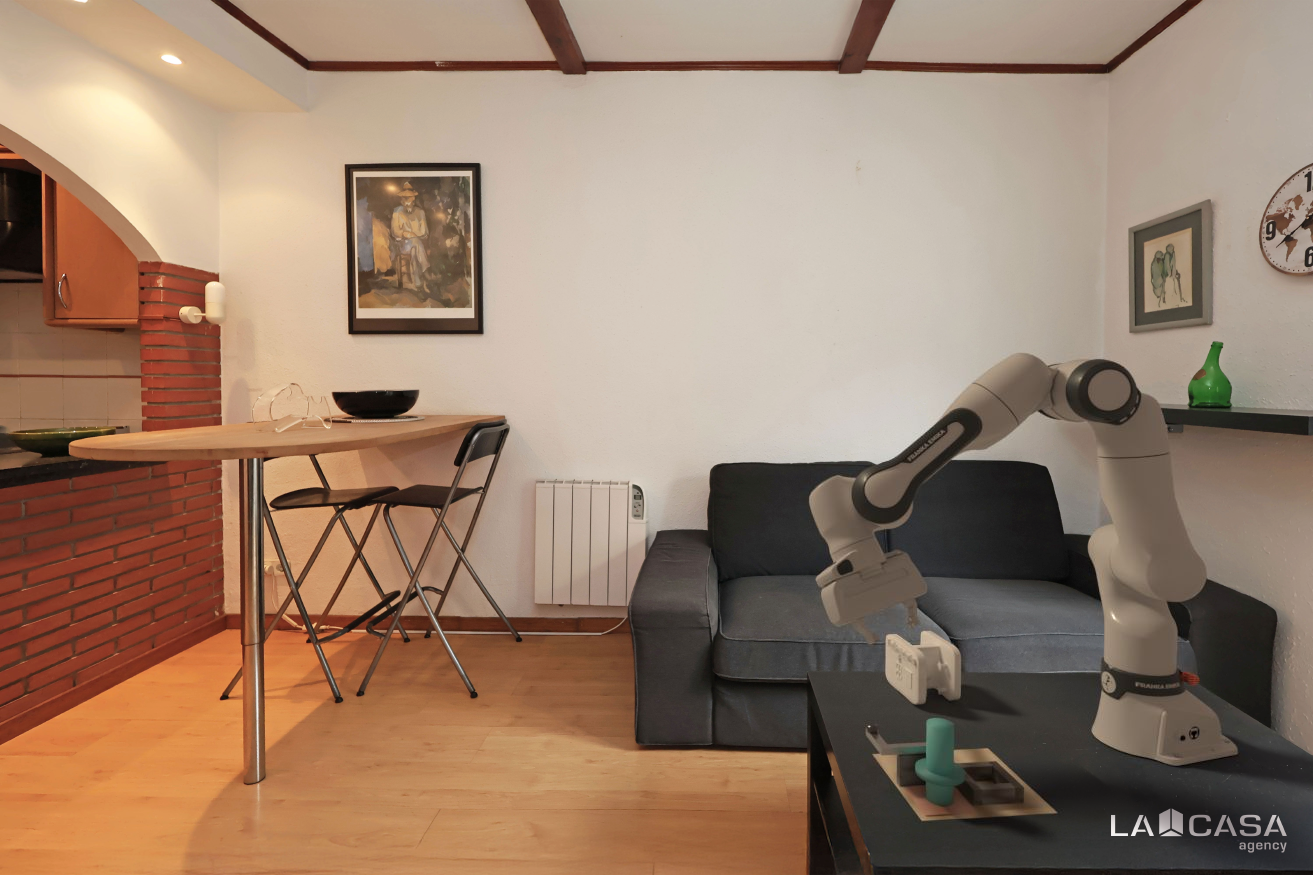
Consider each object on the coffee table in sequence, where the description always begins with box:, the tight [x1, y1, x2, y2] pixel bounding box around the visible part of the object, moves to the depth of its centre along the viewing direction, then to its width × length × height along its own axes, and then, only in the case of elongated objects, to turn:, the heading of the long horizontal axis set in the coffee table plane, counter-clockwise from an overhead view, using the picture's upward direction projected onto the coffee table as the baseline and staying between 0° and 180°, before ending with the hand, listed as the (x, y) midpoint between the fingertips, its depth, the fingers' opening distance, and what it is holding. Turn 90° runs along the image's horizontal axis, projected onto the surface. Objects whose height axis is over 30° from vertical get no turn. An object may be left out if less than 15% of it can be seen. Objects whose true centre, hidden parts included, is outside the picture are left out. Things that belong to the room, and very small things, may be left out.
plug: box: [915, 717, 965, 806], centre depth 113 cm, size 7×7×12 cm
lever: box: [865, 722, 926, 756], centre depth 121 cm, size 10×7×2 cm
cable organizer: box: [884, 630, 962, 705], centre depth 155 cm, size 15×11×12 cm
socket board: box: [872, 748, 1058, 822], centre depth 119 cm, size 21×20×6 cm
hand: (895, 634), depth 129 cm, fingers open, 8 cm apart
